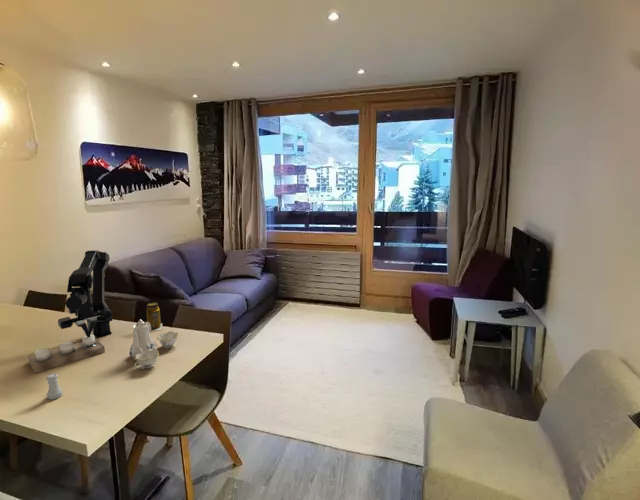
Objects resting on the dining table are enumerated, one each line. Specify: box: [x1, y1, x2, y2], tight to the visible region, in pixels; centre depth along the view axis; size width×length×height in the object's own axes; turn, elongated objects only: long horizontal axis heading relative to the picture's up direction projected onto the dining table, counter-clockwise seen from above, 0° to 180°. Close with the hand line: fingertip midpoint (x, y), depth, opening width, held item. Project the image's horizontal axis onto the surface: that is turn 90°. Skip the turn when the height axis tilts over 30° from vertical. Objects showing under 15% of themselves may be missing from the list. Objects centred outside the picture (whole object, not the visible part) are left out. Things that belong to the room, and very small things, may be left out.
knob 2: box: [82, 334, 96, 346], centre depth 155 cm, size 4×4×3 cm
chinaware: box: [128, 318, 179, 370], centre depth 150 cm, size 28×17×17 cm, turn 3°
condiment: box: [145, 302, 163, 332], centre depth 179 cm, size 7×8×12 cm
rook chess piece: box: [45, 372, 64, 400], centre depth 123 cm, size 4×4×8 cm
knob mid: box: [59, 341, 74, 354], centre depth 149 cm, size 4×4×3 cm
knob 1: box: [34, 347, 51, 361], centre depth 144 cm, size 4×4×3 cm
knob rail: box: [27, 337, 106, 374], centre depth 150 cm, size 24×12×3 cm, turn 136°
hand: (88, 336), depth 155 cm, fingers closed, pressing on knob 2
